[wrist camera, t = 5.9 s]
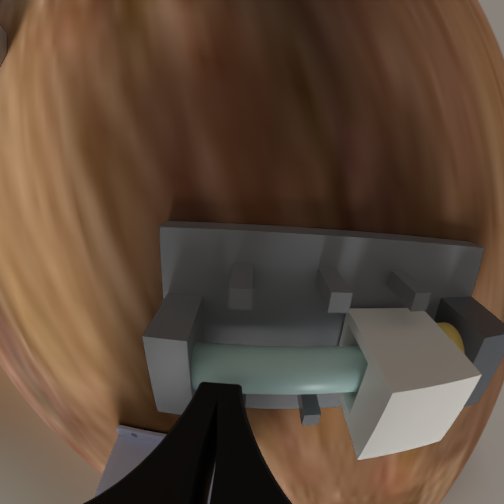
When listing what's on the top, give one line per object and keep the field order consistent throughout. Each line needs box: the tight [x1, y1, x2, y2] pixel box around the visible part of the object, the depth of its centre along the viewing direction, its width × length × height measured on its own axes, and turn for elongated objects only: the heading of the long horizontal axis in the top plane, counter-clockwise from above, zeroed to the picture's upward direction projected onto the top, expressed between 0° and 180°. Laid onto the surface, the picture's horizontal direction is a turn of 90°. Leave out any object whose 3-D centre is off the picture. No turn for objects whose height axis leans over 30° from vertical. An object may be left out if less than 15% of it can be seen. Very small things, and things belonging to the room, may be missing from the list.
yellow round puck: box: [437, 322, 465, 354], centre depth 11 cm, size 1×4×4 cm, turn 177°
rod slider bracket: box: [142, 221, 504, 425], centre depth 12 cm, size 16×10×5 cm, turn 87°
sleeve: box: [338, 308, 482, 460], centre depth 10 cm, size 4×4×5 cm
